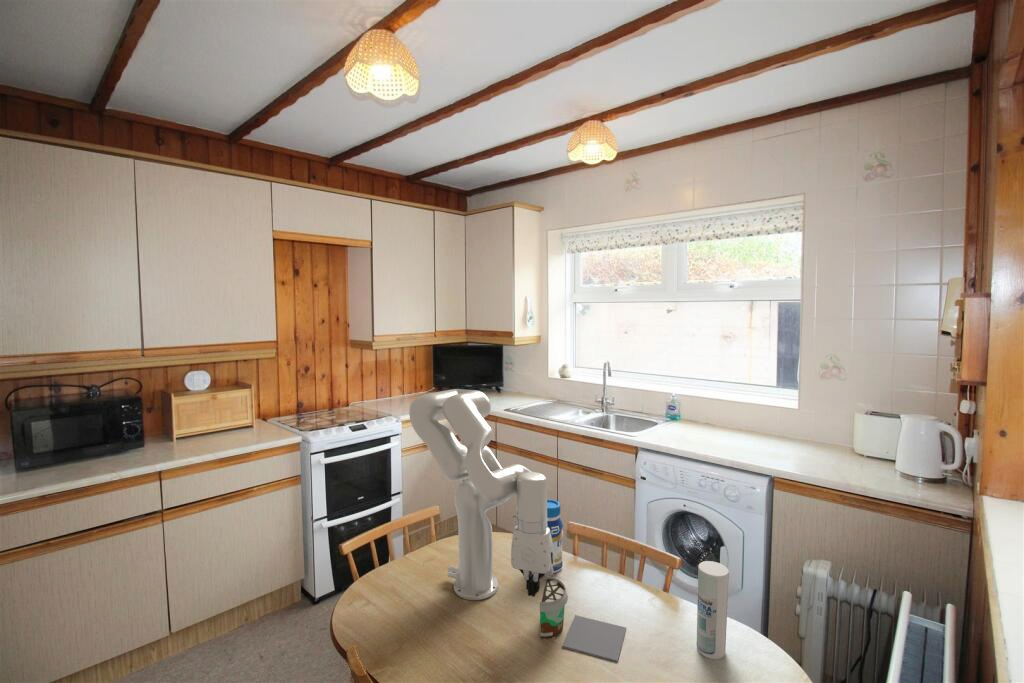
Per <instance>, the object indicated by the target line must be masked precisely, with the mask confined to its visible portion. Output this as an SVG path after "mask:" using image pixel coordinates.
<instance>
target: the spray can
mask: <svg viewBox="0 0 1024 683" xmlns="http://www.w3.org/2000/svg"><path fill="white" fill-rule="evenodd" d="M697 568H698V571H697V605H696V606H697V613H696V617H697V618H696V649H697V651H698V652H699V653H700V655H702V656H703V657H705V658H708V659H711V660H721V659H722V658H724V657H725V655H726V646H727V645H726V644H727V643H726V641H727V623H728V622H727V621H728V600H729V578H730V576H729V575H730V571H729V569H728V567H726V566H725V565H724V564H722V563H720V562H717V561H713V560H711V561H710V560H705V561H702V562H700V563H699V564H698V567H697Z"/></svg>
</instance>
